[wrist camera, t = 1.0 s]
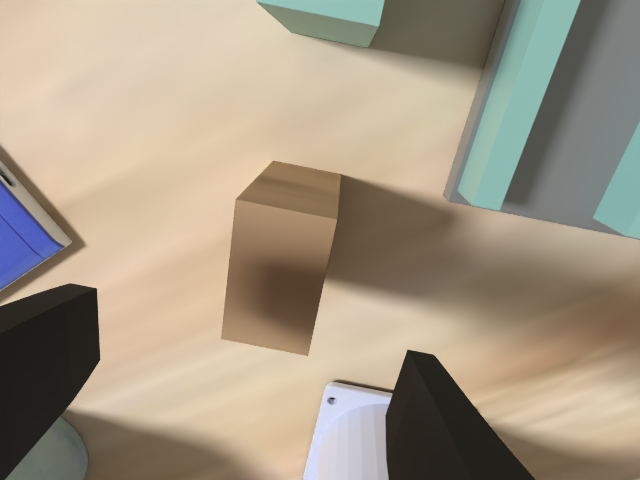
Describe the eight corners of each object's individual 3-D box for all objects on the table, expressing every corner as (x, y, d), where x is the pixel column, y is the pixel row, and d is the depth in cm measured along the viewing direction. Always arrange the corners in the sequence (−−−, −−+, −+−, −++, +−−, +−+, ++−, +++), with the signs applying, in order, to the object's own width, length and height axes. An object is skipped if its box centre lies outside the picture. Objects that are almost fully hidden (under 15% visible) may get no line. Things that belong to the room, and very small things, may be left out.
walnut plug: (320, 274, 19) (307, 355, 13) (259, 262, 19) (221, 338, 13) (341, 174, 17) (337, 219, 11) (273, 160, 17) (235, 199, 11)
